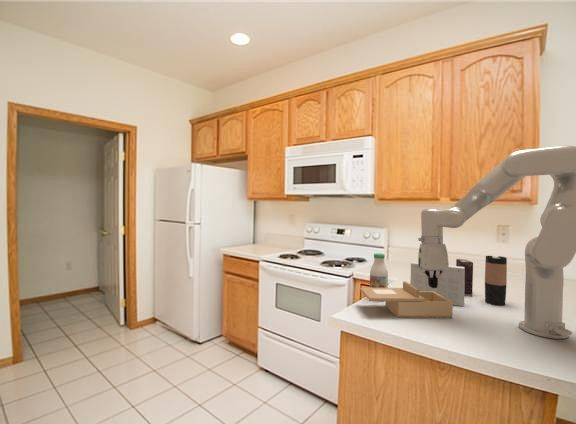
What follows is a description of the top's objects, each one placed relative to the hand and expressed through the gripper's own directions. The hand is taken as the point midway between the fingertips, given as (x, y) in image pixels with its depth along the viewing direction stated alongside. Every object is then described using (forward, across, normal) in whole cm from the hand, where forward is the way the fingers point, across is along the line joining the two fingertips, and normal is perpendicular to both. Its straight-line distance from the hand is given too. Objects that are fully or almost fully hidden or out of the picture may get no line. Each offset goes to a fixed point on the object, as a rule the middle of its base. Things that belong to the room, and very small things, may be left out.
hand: (433, 287), depth 115 cm
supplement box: (+10, +28, +26) cm, 39 cm away
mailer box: (+10, -6, +1) cm, 11 cm away
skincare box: (+10, +9, +15) cm, 20 cm away
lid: (+3, -17, +1) cm, 17 cm away
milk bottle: (+9, -16, +17) cm, 25 cm away
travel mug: (+11, +33, +12) cm, 36 cm away
